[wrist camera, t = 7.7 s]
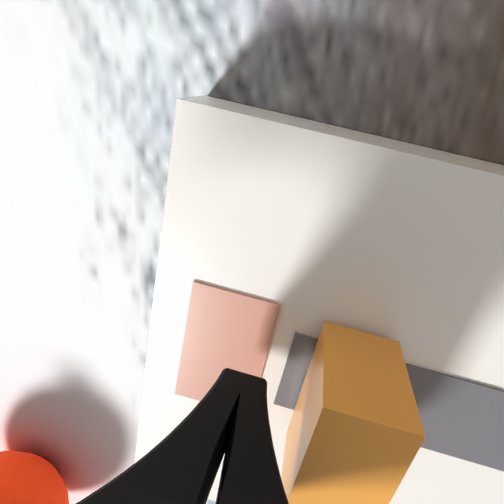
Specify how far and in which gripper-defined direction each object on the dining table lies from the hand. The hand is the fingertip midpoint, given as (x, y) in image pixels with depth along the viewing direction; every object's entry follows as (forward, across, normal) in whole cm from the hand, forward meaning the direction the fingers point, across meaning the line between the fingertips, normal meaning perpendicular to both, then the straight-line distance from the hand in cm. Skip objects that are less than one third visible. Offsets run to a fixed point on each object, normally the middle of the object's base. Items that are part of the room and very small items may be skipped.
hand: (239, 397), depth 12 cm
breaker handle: (+2, -3, 0) cm, 4 cm away
